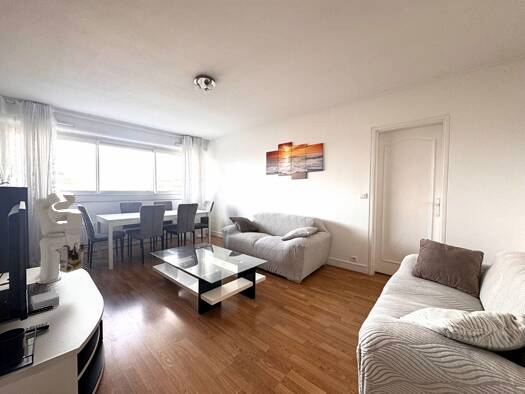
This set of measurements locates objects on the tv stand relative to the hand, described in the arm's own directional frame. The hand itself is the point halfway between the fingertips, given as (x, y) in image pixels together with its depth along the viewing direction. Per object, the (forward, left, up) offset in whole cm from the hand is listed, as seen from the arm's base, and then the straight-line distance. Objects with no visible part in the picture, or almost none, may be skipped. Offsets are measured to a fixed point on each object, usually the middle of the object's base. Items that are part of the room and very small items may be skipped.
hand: (72, 257), depth 131 cm
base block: (+2, -12, -24) cm, 27 cm away
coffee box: (0, 0, -8) cm, 8 cm away
